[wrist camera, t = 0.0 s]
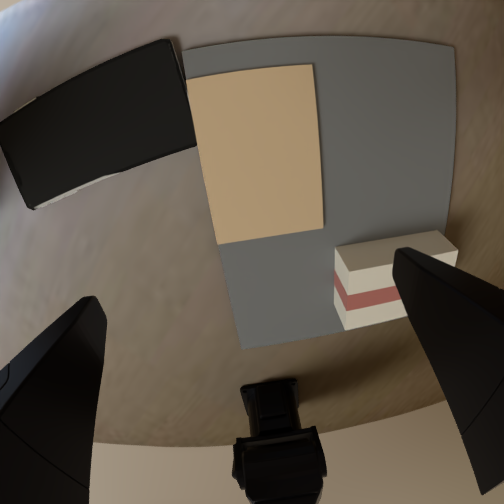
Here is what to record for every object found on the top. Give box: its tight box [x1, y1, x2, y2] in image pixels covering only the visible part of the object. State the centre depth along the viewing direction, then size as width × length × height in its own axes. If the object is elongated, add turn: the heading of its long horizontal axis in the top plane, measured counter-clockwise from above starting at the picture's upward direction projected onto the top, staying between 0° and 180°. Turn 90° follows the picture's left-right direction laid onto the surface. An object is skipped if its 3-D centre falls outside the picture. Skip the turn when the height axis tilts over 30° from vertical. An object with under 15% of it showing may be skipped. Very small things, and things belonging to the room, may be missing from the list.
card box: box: [334, 230, 458, 330], centre depth 26 cm, size 10×6×4 cm, turn 97°
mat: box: [182, 36, 456, 349], centre depth 24 cm, size 26×20×1 cm
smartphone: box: [0, 39, 197, 210], centre depth 19 cm, size 8×1×15 cm
